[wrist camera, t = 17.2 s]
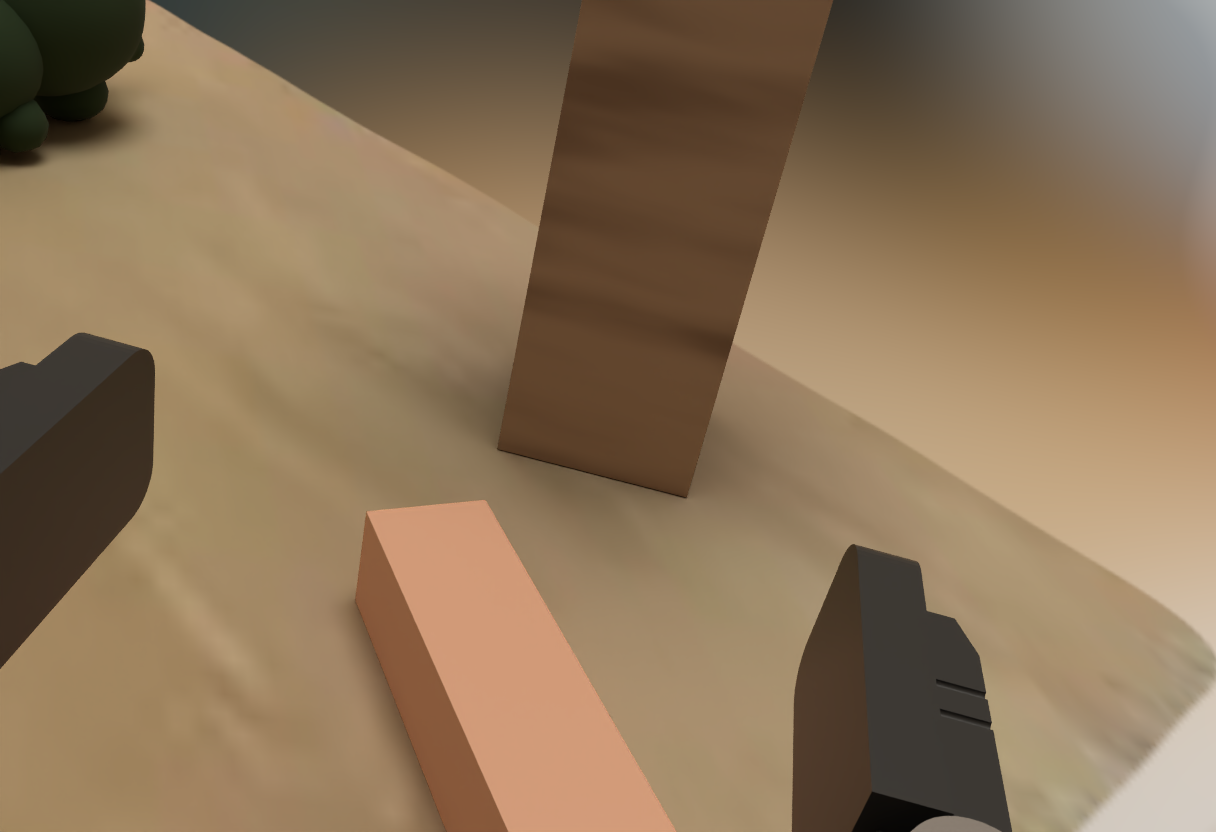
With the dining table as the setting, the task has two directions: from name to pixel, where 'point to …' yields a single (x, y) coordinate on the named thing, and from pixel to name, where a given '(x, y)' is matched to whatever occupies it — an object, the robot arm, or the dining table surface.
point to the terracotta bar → (491, 681)
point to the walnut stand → (654, 228)
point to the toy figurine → (61, 61)
